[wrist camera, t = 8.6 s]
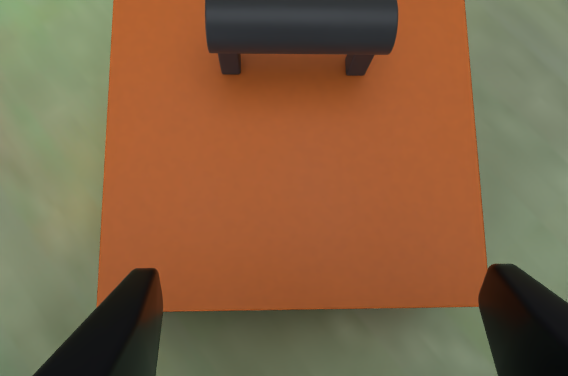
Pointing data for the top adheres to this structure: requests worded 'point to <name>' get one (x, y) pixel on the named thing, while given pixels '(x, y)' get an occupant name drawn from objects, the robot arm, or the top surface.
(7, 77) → the top surface
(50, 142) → the top surface
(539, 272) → the top surface
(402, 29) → the lid
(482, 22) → the top surface
